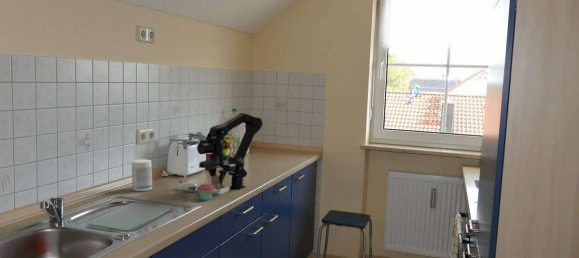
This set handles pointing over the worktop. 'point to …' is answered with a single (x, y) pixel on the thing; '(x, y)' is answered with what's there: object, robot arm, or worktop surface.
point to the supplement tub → (142, 175)
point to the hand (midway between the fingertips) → (217, 182)
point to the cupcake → (206, 190)
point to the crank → (187, 184)
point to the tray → (222, 190)
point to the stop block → (216, 181)
